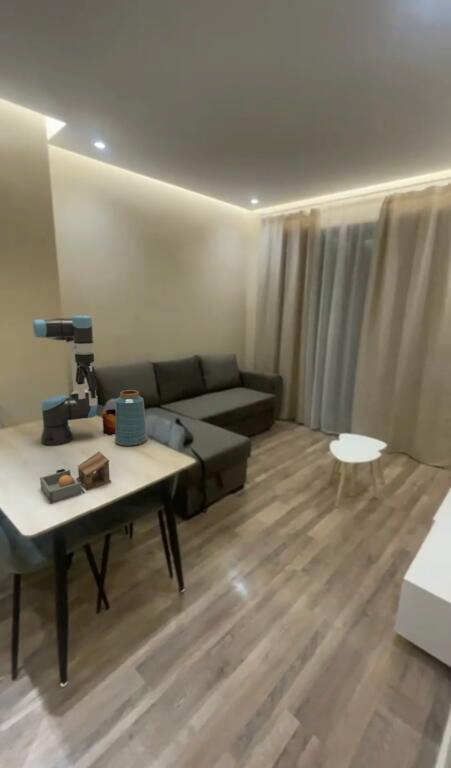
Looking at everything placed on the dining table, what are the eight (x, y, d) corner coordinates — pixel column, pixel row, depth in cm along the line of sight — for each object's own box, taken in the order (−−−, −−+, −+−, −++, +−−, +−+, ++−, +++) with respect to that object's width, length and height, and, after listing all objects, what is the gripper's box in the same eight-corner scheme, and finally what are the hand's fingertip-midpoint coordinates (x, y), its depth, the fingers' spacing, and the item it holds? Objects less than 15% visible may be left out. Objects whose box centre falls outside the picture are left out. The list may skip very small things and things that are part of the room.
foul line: (71, 479, 140) (71, 479, 140) (73, 478, 141) (73, 478, 141) (83, 493, 130) (83, 493, 130) (85, 492, 130) (85, 492, 130)
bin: (41, 488, 133) (40, 477, 132) (70, 479, 140) (69, 469, 139) (50, 503, 123) (49, 492, 122) (81, 493, 130) (80, 482, 129)
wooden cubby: (76, 479, 140) (75, 456, 138) (101, 472, 147) (99, 450, 144) (86, 490, 132) (84, 466, 130) (111, 482, 138) (110, 459, 136)
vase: (121, 435, 190) (118, 388, 185) (150, 436, 190) (149, 388, 184) (110, 446, 174) (107, 395, 169) (142, 447, 174) (140, 396, 168)
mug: (130, 432, 195) (129, 412, 192) (105, 436, 188) (104, 415, 185) (126, 427, 203) (125, 407, 200) (101, 430, 196) (100, 410, 194)
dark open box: (56, 476, 143) (56, 470, 142) (64, 474, 144) (63, 468, 144) (58, 479, 140) (58, 473, 140) (66, 476, 142) (66, 471, 142)
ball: (60, 487, 133) (54, 477, 131) (72, 480, 136) (67, 470, 134) (63, 493, 130) (58, 483, 127) (76, 485, 132) (71, 476, 130)
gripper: (65, 350, 151) (69, 397, 156) (85, 357, 133) (88, 410, 137) (83, 349, 156) (86, 394, 161) (104, 355, 138) (107, 406, 142)
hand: (87, 401), depth 149 cm, fingers open, 13 cm apart
